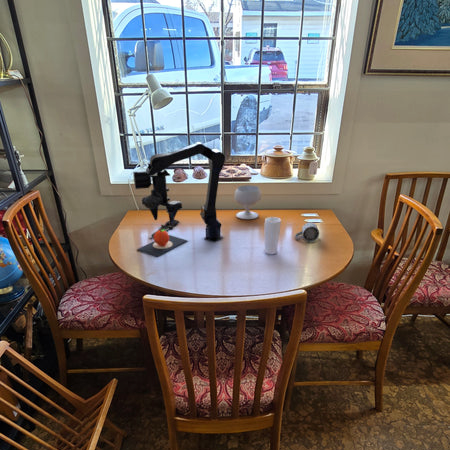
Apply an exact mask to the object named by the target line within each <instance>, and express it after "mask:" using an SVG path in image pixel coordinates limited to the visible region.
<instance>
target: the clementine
mask: <svg viewBox="0 0 450 450" xmlns="http://www.w3.org/2000/svg"><path fill="white" fill-rule="evenodd" d="M157 230H158V231H157ZM157 230H156V231H157V232H156V231H155V232H156V233H155V232H154V233H155V234H154V239H153V240H154V241H155V242H156V243H157V244H158V245H166V244H167V243H168V241H169V235H170V234H169V232H168V231H164V230H159V229H157ZM154 241H153V242H154Z"/></svg>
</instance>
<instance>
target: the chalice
mask: <svg viewBox="0 0 450 450" xmlns="http://www.w3.org/2000/svg"><path fill="white" fill-rule="evenodd" d="M261 199H262V192H261V190H260V188H259V187H258V186H257V185H240V186H238V187H237V188H236V190H235V192H234V200H235V201H236V203H237V204H239V205H241V206H243V207H244V208H245V210H244V211H239V212H237V213H236V215H235V216H236V217H237V218H239V219H241V220H253V219H257V218H258V217H259V213H257V212H255V211H250V208H252V206H255V205H257V204H258V203H260V201H261Z"/></svg>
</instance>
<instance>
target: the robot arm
mask: <svg viewBox="0 0 450 450" xmlns="http://www.w3.org/2000/svg"><path fill="white" fill-rule="evenodd" d="M197 155H202V156H203V157H205V158H206V159H207V161H208V169H209V174H208V183H207V189H206V190H207V191H206V199H205V203H204V205H200V213H199V215H200V217H201V219H202V221H203V222H204V224H205V229H204V230H205V236H204V240H207V241H211V242H217V241H220V240H221V239H222V238H223V236H222V234H221V230H222V229H221V227H222V226H223V225H222V223H221V222H220V221H219V219H218V216H217V208H216V203H217V196H218V188H219V181H220V174H221V172H222V170H223V168H224V165H225V162H226V156H225V154H224V153H223V152H221V151H220V150H219V149H217V148H213V149H212V148H210V147H209V146H206V145H204V144H203V143H202V142H200V141H196V142H195V143H192V144H190V145H187V146H184V147H182V148H179V149H175V150H173V151H170V152H161V153H156V154H153V155H151V156H150V158H149V163H148V165H147V167H146V169H145V170H144V171H133V183H134V188H135V190H142V189H150V187H151V186H152V189H151V190H150V194H149V195H146V196H143V197H142V199H141V204H142V205H143V206H144V207H146V209H148V210H149V211H150V213H151V215H152V217H153V219H154V221H157V220H158V215H159V206H163V207H165V209H166V211H165V212H166V213H167V214H168V221H170V224H172V223H173V221H174V220H175V218H176V215H177V213H178V211H180V210H181V209H183V203H182V202H181V201H177V200H172V201H171V198H170V197H168V192H169V191H170V188H169V187H168V186H167V177H170V176H171V173H170V172H169V171H168V170H167V169H168V168H169V167H170V166H172V165H174V164H175V163H178V162H181V161H183V160H187V159H189V158H193V157H195V156H197Z"/></svg>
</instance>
